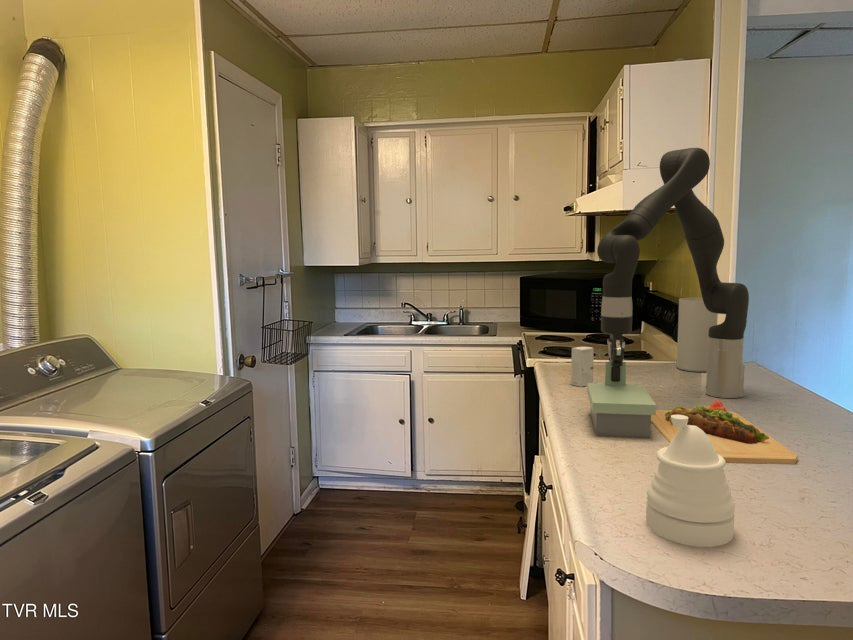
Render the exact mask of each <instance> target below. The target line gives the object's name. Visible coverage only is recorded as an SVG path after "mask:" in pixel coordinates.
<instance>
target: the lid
mask: <svg viewBox="0 0 853 640" xmlns="http://www.w3.org/2000/svg"><path fill="white" fill-rule="evenodd" d="M626 379H627V361H623V365H622V366H621V370H620V382H612V381H611V362H609V361H605V362H604V383H603V382H601V383H598V382H593V383H587V386H586V393H587V396H588V397H587V398H588V400H589V404H590V409H591V408H592V412H593V413H608V414H635V415H656V410H657V404H656V403H655V401H654V399H653V398H652V397H651V395H650V394H649V392H648V391H647V390H646V388H645V387H644V385H643V384H636V383H627V382H626Z"/></svg>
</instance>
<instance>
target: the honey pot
mask: <svg viewBox="0 0 853 640" xmlns="http://www.w3.org/2000/svg"><path fill="white" fill-rule="evenodd" d="M671 422H672V424H673V426H674V427H675V428H677V429H681V430H680V431H679V432H678V433H677V434H676V435H675V436H674V438H673V439H672V441H671V442H670V443H669V444H668V445H667V446H665V447H662V448H660V449H658V450H657V452H656V454H655V456H656V459H657V460H658V461H659V464H658V466H657V467H656V468H655V469H654V473H653V474H654V475H653V476H652V479H651V483H650V484H649V485H648V488H647V491H646V495H647V497H646V505H645V506H646V508H645V509H646V510H645V511H646V512H645V521H646V525H647V527H648V528H649V529H650V530H651V531H652V532H653V533H655V535H657V536H660V537H661V538H663V539H666V540H667V541H671V542H674V543H677V544H681V545H685V546H689V547H690V546H691V547H699V548H701V547H702V548H703V547H704V548H709V547H710V548H712V547H713V548H714V547H718V546H723V545H725V544H728V543H730V542H731V541H732V540H733V539H734V533H735V530H734V529H735V513H736V512H735V511H736V510H735V508H736V503H735V499H734V497H733V496H732V490H731V487H730V486H729V484H730V483H729V479H728V478H727V477H728V476H726V473H725V471H724V468H725V467H726V462H725V460H724V458H723V457H722V456H720V455H719V454H717V452H716V450H715V448H714V446H713V444H712V442H711V441H710V439H709V438H708V436H707V435H706V434H705V432H704V431H703V430H701V429H700V428H698V427H697V426H693V425H687V423H688V417H687V416H684V415H671Z"/></svg>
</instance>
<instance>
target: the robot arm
mask: <svg viewBox="0 0 853 640" xmlns="http://www.w3.org/2000/svg"><path fill="white" fill-rule="evenodd" d="M710 161H711V160H710V156H709V153H708V152H707V151H706V150H705V149H703V148H701V147H688V148H681V149H675V150H670V151H669V150H668V151H667V152H665V153H664V154H663V155H662V156H661V158H660V160H659V171H660V177H661V179H662V182H663V185H662V186H660V187H659V188H657V189H656V190H654V191H653V192H650V193H649V194H648V195H647V196H645V197H644V198H643V199H641V200H640V201H639V202H638V203H637V204H636V205H635V206H634V207H633V208H632V210H631V211H630V212H629V214H628V215H626V217H625V218H624V220H623V221H621V222H619V223H618V224H617V225H615V226H614V227H613V228H612V229H611V230H609V231H608V232H607V233H605V235H603V236H602V237H601V238H600V240H599V242H598V244H597V257H598V258H599V260H600V261H602V262H603V263H606V264H615V265H614V269H613V271H612V272H610V273H607V274H605V275H604V276H603V280H602V301H601V311H600V312H601V314H600V316H601V317H600V318H601V319H600V321H601V322H600V332H601V333H604V334H608V335H609V336H610V337H609V338H607V339H606V340H607V342H606V343H607V347H608V348H607V354H608V362H611V381H612V382H620V370H621V366H622V365H623V362H624V355H625V347H626V341H625V340H624V338H623V335H629V334H631V333H632V332H633V299H632V296H633V294H632V293H633V280H634V279H633V278H634V275H635V273H636V269H637V266H638V263H639V259H640V254H641V250H640V249H641V248H640V244H639V241H641V240H644V239H645V238H647V236H648V235H649V234H650V233H651V232H652V231H653V230H654V228H655V227H656V225H658V224H659V222H660V220H662V218H663V217H664V216H665V215H666V214H667V213H668V212H669V210H670V209H672V208H673V207H674V208H675V211H676V215H677V217H678V220H679V222H680V226H681V228H682V232H683V235H684V238H685V242H686V244H687V246H688V247H687V248H688V250H689V252H690V255H691V257H692V261H693V265H694V267H695V271H696V274H697V279H698V285H699V289H700V294H701V298H702V299H703V302H704V305H705V307H706V308H707V310H708V311H710V312H712V313H718V315H720V314H721V315H725V317H724V321H723V322H721V323H719V324H717V325H715V326H712V327H710V328H709V332H708V356H707V372H706V384H705V394H707V395H708V396H711V397H714V398H721V399H735V398H736V399H738V398H744V385H745V369H746V368H745V365H744V364H743V359H744V358H743V354H744V337H745V332H746V328H747V322H748V321H747V319H748V311H749V304H750V303H749V302H750V295H749V290H748V287H747V286H746V285H745V284H743V283H740V282H739V283H738V282H722V281H721V279H720V278H719V275H718V268H717V266H718V262H719V260H720V257H721V255H722V253H723V250H724V247H725V237H724V234H723V231H722V227H721V224H720V222H719V220H718V218H717V216H716V215H715V214H714V213H713V212H712V211H711V210H710V209H709V208H708V207H707V206H706V205H705V204H704V203H703V202H702V201H701V200H700V199H699V198H698V197H697V196H696V194H695V193H694V191H693V189H694V188H695V187H697V185H699V184H700V183H701V182H702V181H703V180H704V178H706V177H707V174H708V173H709V170H710V168H711V167H710V165H711V163H710Z"/></svg>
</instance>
